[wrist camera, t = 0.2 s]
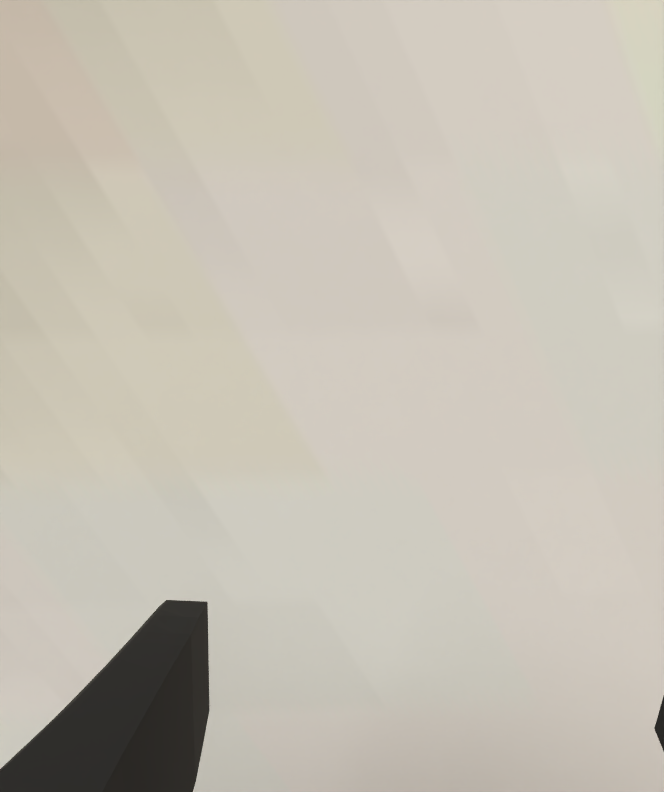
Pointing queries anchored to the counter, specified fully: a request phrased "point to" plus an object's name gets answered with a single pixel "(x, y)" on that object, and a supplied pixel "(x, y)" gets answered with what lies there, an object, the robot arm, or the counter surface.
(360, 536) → the counter surface
